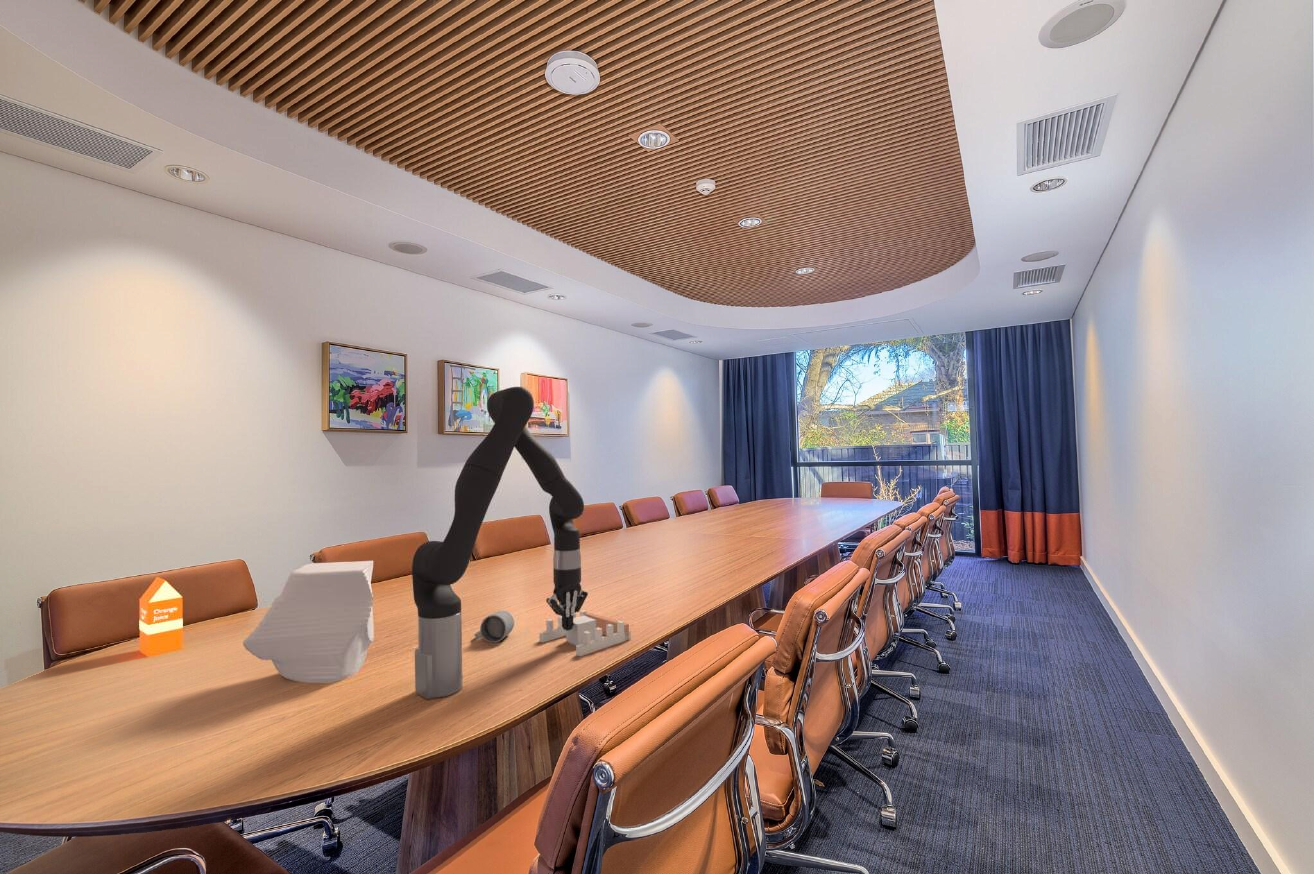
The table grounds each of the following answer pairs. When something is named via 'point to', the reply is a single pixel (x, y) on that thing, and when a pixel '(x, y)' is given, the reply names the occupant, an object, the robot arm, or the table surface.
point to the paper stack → (318, 623)
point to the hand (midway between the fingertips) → (567, 629)
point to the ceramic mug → (496, 627)
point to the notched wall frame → (605, 626)
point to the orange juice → (160, 619)
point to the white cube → (580, 630)
